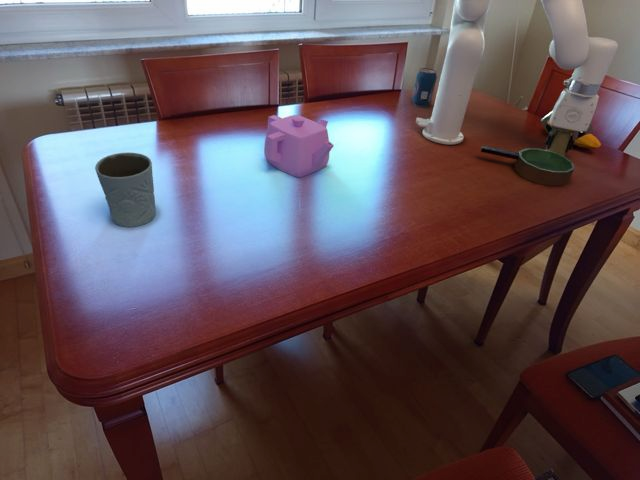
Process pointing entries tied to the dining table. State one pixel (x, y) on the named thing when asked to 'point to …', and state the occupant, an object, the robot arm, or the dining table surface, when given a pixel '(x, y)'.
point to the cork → (560, 141)
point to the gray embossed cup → (128, 188)
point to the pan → (538, 165)
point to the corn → (586, 141)
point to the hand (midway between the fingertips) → (556, 148)
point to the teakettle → (297, 144)
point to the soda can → (424, 87)
